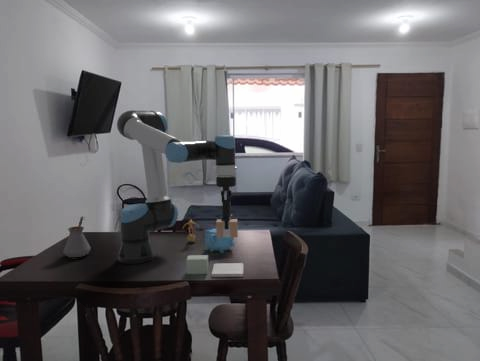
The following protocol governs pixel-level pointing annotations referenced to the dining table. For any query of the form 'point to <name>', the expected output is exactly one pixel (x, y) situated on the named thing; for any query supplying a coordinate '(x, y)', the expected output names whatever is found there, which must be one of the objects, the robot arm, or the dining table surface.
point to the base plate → (227, 270)
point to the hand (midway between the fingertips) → (227, 234)
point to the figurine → (191, 237)
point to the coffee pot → (76, 242)
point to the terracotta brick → (232, 228)
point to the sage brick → (197, 264)
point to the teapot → (217, 241)
